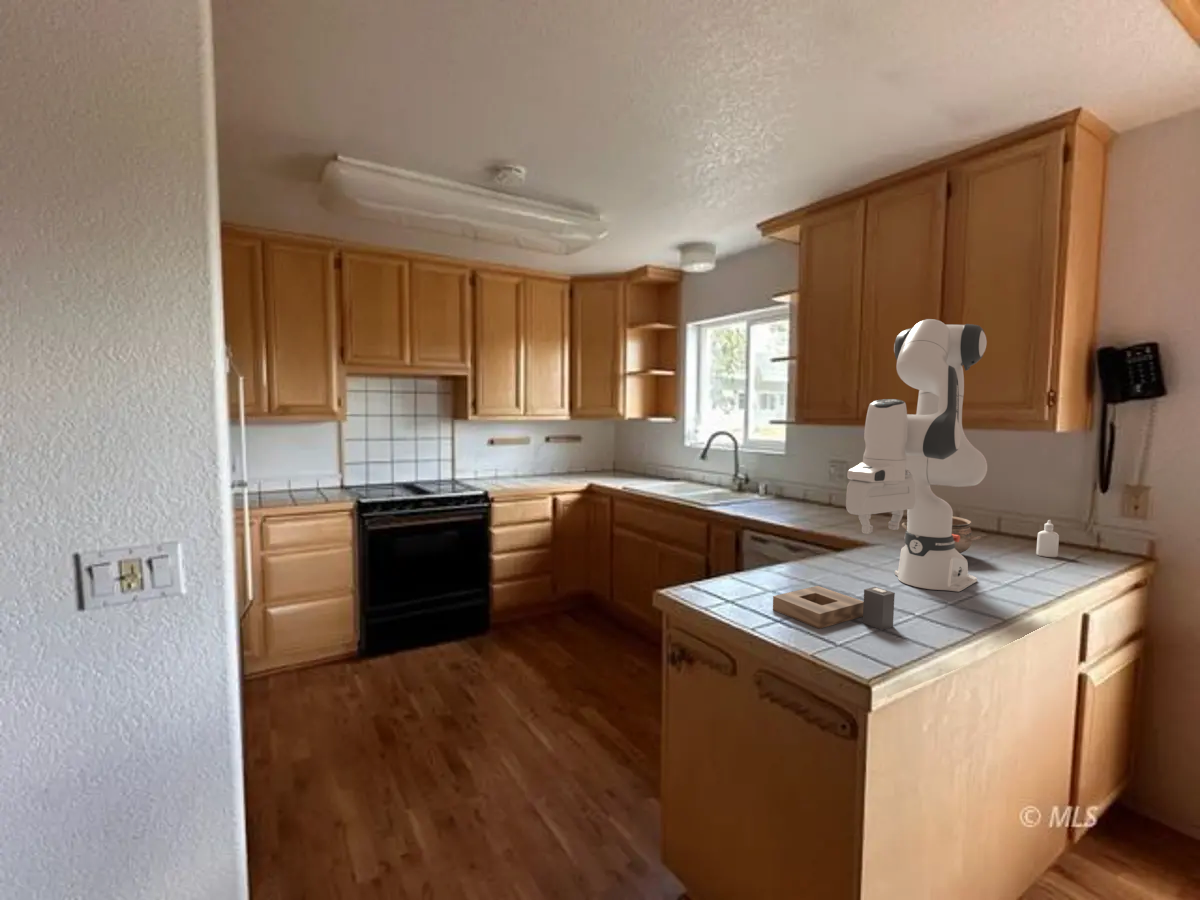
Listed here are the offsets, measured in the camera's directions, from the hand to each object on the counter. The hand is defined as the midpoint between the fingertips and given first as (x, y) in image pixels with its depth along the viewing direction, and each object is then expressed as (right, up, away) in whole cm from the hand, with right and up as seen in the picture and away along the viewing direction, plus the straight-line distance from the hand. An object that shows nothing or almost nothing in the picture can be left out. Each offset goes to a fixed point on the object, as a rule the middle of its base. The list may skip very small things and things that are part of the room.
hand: (880, 531), depth 138 cm
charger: (0, -22, +2) cm, 22 cm away
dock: (-11, -21, +9) cm, 26 cm away
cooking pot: (+48, -17, +62) cm, 80 cm away
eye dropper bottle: (+83, -17, +62) cm, 105 cm away
